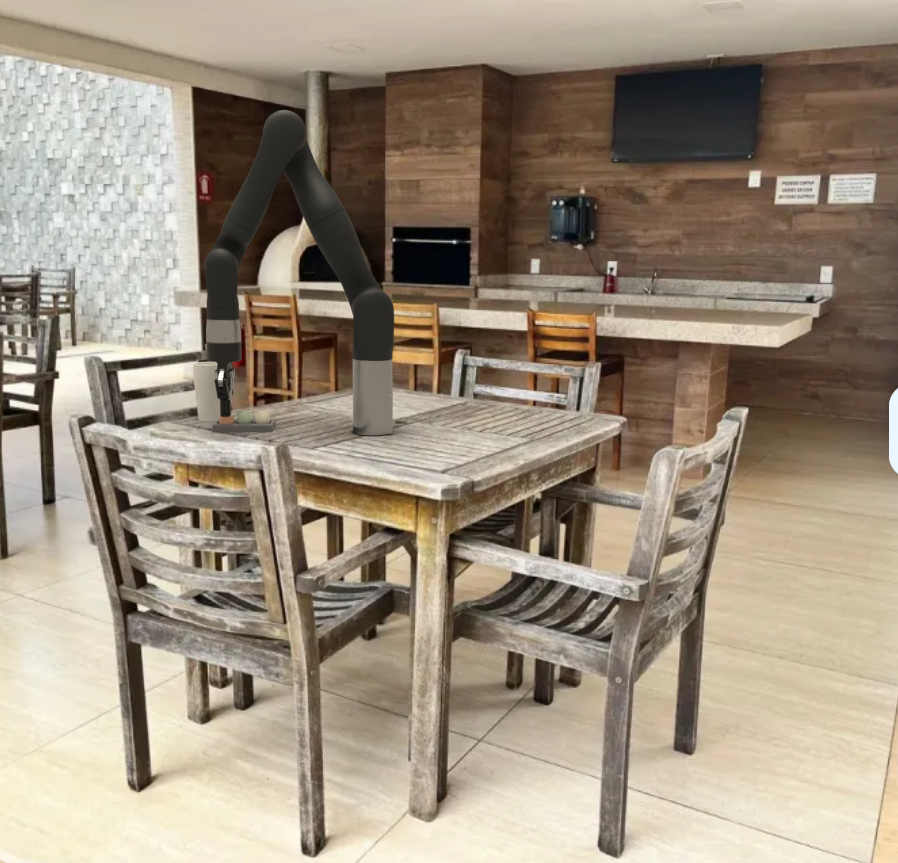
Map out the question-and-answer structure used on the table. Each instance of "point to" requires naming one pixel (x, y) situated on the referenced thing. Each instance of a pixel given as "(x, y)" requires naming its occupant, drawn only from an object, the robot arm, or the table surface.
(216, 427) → the dark grey tray
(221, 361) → the robot arm
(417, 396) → the table surface
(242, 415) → the button sage
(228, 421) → the button terracotta
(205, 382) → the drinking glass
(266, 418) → the button cream
